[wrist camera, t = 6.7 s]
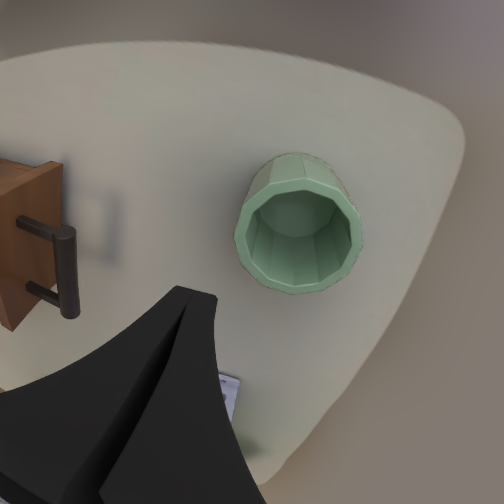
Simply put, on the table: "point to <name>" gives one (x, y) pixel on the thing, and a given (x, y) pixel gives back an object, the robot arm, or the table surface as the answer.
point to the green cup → (298, 226)
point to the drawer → (35, 243)
